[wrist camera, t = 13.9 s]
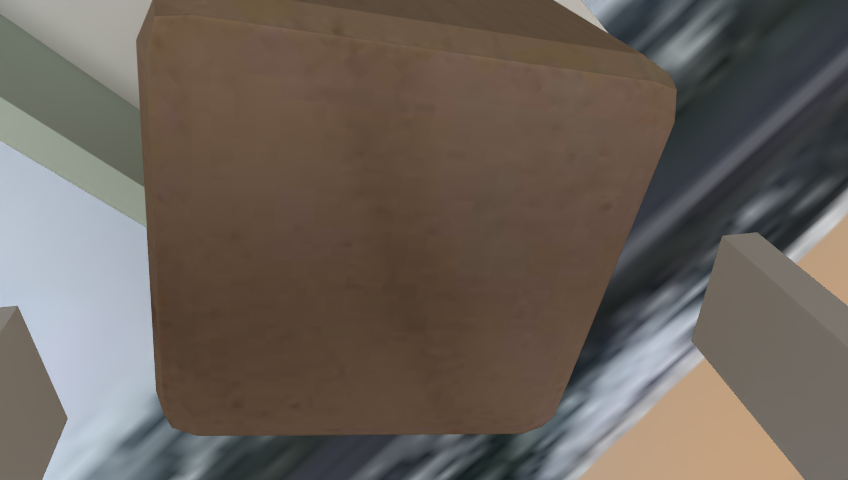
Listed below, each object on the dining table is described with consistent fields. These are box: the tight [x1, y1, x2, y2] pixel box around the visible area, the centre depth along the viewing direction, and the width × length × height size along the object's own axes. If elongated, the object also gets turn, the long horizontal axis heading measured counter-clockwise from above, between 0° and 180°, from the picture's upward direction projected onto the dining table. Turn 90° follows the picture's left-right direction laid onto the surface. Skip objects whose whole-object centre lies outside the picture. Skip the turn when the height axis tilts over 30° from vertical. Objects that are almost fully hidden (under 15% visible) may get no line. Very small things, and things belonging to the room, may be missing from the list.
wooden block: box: [136, 0, 677, 436], centre depth 21 cm, size 10×10×20 cm
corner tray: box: [0, 0, 608, 227], centre depth 26 cm, size 24×20×7 cm
